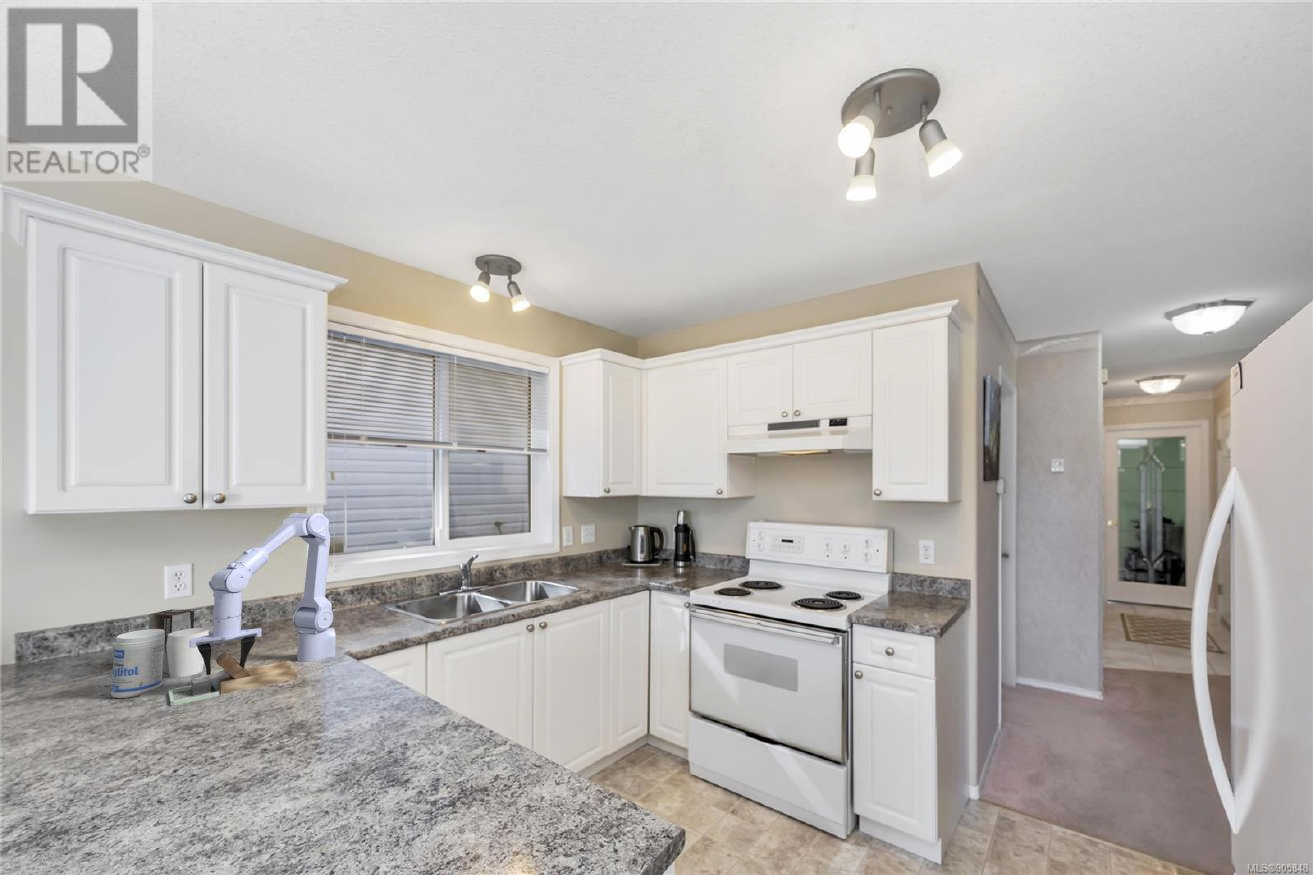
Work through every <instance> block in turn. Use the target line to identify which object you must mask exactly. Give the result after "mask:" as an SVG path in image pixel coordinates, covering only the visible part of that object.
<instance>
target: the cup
mask: <svg viewBox="0 0 1313 875" xmlns="http://www.w3.org/2000/svg"><path fill="white" fill-rule="evenodd" d="M207 635H209V628H207V627H194V628H192V629H185V630H180V631H175V632H172V633H170V634H168V637H167V645H166V649H167V657H168V665H169V672H170V673H169V678H170V679H171V678H184V677H189V676H193V675H196V674H200V673H203V668H204V666H205V663H204V660H203V657H202V655H201V654H200V652H199V650H198V648H197V647H195V648H190V647H189V646H190V639H193V638H198V637H203V636H207Z"/></svg>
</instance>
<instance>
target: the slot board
mask: <svg viewBox="0 0 1313 875" xmlns="http://www.w3.org/2000/svg"><path fill="white" fill-rule="evenodd" d="M291 664H292V662H291V661H290V660H285V661H279V662H276V663H275V662H274V663H268V664H264V665H258V666H253V667H248V668H246V669H247V670H248V671H249V672H250V673H251V674H252V676H249V677H244V678H239V679H235V678H234V677H233V676H231V675H230V674H229V676H230V679H231V680H229V681H225V682H220V690H219V695H226V694H231V693H234V692H239V691H244V690H245V691H246V690H249V689H253V688H258V687H263V686H267V685H272V684H277V683H281V682H286V681H291V680H296V679H297V678H298V677H297V676H298V675H297V674H298V669H297V667H296V666H294V667H291Z"/></svg>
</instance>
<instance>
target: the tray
mask: <svg viewBox="0 0 1313 875" xmlns="http://www.w3.org/2000/svg"><path fill="white" fill-rule="evenodd" d="M211 686H213V684H212V681H211ZM185 691H186V692H187V691H191V684H190V685H187V686H181V687H177V688H171V689H168V692H167V694H168V699H169V705H170V706H171V707H172V706H179V705H181V704H182V705H183V704H185V703H186V704H187V703H190V702H195V701H196V702H197V701H201V700H206V699H209V698H214V697H218V696H220V691H214V692H208V693H204V694H199V695H194V696H191V697H186V698H181V699H177V700H175V698H174V694H176V693H180V692H185Z"/></svg>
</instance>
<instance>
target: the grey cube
mask: <svg viewBox="0 0 1313 875" xmlns="http://www.w3.org/2000/svg"><path fill="white" fill-rule="evenodd" d="M209 677H210V678H211V681H212V684H213V685H212V686H213V690H214V692H218V691H219V690H220V682H225V681H229V680H231V679H230V676H229V673H228V672H226V671H225V670H224V669H222V670H221V671H218V672H216V673H213V674H211V675H209ZM219 692H220V691H219Z"/></svg>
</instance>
